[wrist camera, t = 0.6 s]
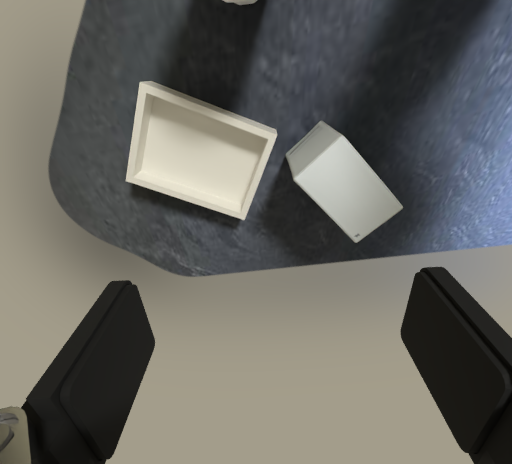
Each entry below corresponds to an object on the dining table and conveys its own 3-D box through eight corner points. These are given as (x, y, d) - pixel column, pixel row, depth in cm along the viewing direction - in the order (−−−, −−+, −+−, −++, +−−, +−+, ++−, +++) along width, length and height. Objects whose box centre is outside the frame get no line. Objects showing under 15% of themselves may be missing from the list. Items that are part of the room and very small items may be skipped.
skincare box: (372, 175, 38) (406, 208, 29) (333, 206, 41) (354, 246, 31) (322, 116, 35) (344, 133, 26) (283, 154, 37) (290, 182, 28)
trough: (151, 80, 33) (139, 81, 30) (276, 129, 35) (277, 135, 32) (136, 172, 38) (125, 180, 35) (245, 209, 41) (244, 220, 38)
